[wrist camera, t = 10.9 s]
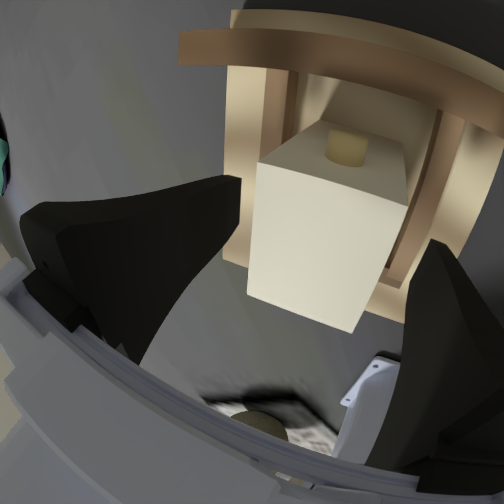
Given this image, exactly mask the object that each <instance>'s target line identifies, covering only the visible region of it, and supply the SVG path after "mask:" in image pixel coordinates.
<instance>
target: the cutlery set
mask: <svg viewBox="0 0 504 504" xmlns="http://www.w3.org/2000/svg"><path fill="white" fill-rule="evenodd" d="M8 150H9V147H8V143H7V142H6V141H4V140H2V139H1V138H0V195H1V196H3V195H4V192H5V190H6V185H7V173H6V164H5V158H6V156H7V154H8Z"/></svg>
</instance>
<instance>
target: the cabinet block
mask: <svg viewBox="0 0 504 504" xmlns="http://www.w3.org/2000/svg"><path fill="white" fill-rule="evenodd" d="M407 209H408V197H407V184H406V174H405V164H404V156H403V149H402V143H401V142H398V141H395V140H392V139H388V138H385V137H382V136H379V135H376V134H372V133H369V132H365V131H362V130H358V129H355V128H351V127H347V126H344V125H340V124H336V123H332V122H327V121H323V120H318V121H316V122H315V123H313V124H312V125H310V126H309V127H307V128H306V129H304V130H303V131H301V132H300V133H298V134H297V135H295V136H294V137H292V138H291V139H289V140H288V141H286V142H285V143H284V144H282V145H281V146H279V147H278V148H276V149H275V150H273V151H272V152H271V153H269V154H268V155H266V156H265V157H264V158H262V159H261V160H259V161H258V162H257V170H256V183H255V196H254V208H253V221H252V234H251V247H250V260H249V273H248V286H247V294H248V295H250V296H253V297H255V298H258V299H260V300H263V301H265V302H268V303H270V304H273V305H276V306H278V307H281V308H283V309H286V310H289V311H291V312H294V313H297V314H299V315H302V316H305V317H307V318H310V319H313V320H316V321H318V322H321V323H324V324H327V325H329V326H332V327H335V328H338V329H340V330H343V331H346V332H349V333H352V332H353V330H354V328H355V326H356V324H357V322H358V320H359V319H360V317H361V315H362V313H363V311H364V309H365V307H366V305H367V303H368V301H369V299H370V296H371V294H372V292H373V290H374V288H375V286H376V284H377V282H378V279H379V277H380V275H381V273H382V271H383V268H384V266H385V264H386V262H387V259H388V257H389V255H390V252H391V250H392V247H393V245H394V242H395V240H396V238H397V235H398V233H399V230H400V227H401V225H402V222H403V220H404V217H405V214H406V211H407Z"/></svg>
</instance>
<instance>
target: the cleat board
mask: <svg viewBox="0 0 504 504" xmlns="http://www.w3.org/2000/svg"><path fill="white" fill-rule="evenodd" d="M178 65H228V74H227V95H226V120H225V150H224V175H232V176H236V177H240V178H242V185H241V204H240V224H239V225H238V227H237V228H236V230H235V231H234V233H233V234H232V236H231V237H230V239H229V240H228V241H227V243H226V244H225V245H224V246H223V259H225V260H228V261H230V262H233V263H236V264H239V265H241V266H244V267H247V268H249V260H250V247H251V234H252V221H253V208H254V196H255V183H256V170H257V162H258V161H259V160H261V159H262V158H264V157H265V156H266V155H268V154H269V153H271V152H272V151H273V150H275V149H276V148H278V147H279V146H281V145H282V144H284V143H285V142H286V141H288V140H289V139H291V138H292V137H294V136H295V135H297V134H298V133H300V132H301V131H303V130H304V129H306V128H307V127H309V126H310V125H312V124H313V123H315V122H316V121H318V120H323V121H327V122H332V123H336V124H340V125H344V126H347V127H351V128H355V129H358V130H362V131H365V132H369V133H372V134H376V135H379V136H382V137H385V138H388V139H392V140H395V141H398V142H401V143H402V149H403V156H404V164H405V174H406V184H407V197H408V209H407V211H406V214H405V217H404V220H403V222H402V225H401V227H400V230H399V233H398V235H397V238H396V240H395V242H394V245H393V247H392V250H391V252H390V255H389V257H388V259H387V262H386V264H385V266H384V268H383V271H382V273H381V275H380V277H379V279H378V282H377V284H376V286H375V288H374V290H373V292H372V294H371V296H370V299H369V301H368V303H367V305H366V307H365V309H364V310H366V311H369V312H372V313H374V314H377V315H380V316H383V317H386V318H389V319H392V320H395V321H398V322H400V323H403V324H404V321H405V306H406V300H407V294H408V288H409V282H410V280H411V278H412V276H413V274H414V272H415V270H416V268H417V266H418V264H419V262H420V260H421V258H422V256H423V254H424V252H425V250H426V248H427V246H428V243H429V241H430V239H431V238H432V239H435V240H437V241H440V242H442V243H445V244H446V245H447V246H448V247H449V248H450V250H451V251H452V253H453V254H454V255H455V257H456V258H458V256H459V254H460V252H461V250H462V248H463V246H464V244H465V242H466V240H467V238H468V236H469V234H470V232H471V230H472V228H473V226H474V224H475V222H476V219H477V217H478V215H479V213H480V210H481V208H482V206H483V203H484V201H485V198H486V196H487V194H488V191H489V188H490V186H491V183H492V181H493V178H494V175H495V172H496V169H497V167H498V164H499V161H500V158H501V154H502V151H503V148H504V70H502V69H500V68H498V67H496V66H495V65H493V64H491V63H489V62H487V61H485V60H483V59H481V58H479V57H476V56H474V55H472V54H470V53H468V52H465V51H463V50H461V49H458V48H456V47H454V46H451V45H448V44H446V43H443V42H441V41H438V40H435V39H432V38H430V37H427V36H424V35H421V34H417V33H414V32H411V31H408V30H404V29H401V28H397V27H393V26H389V25H386V24H381V23H377V22H373V21H368V20H363V19H358V18H353V17H347V16H341V15H334V14H326V13H318V12H308V11H296V10H276V9H241V10H231V23H230V28H222V29H203V30H191V31H181V32H179V53H178Z"/></svg>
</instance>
